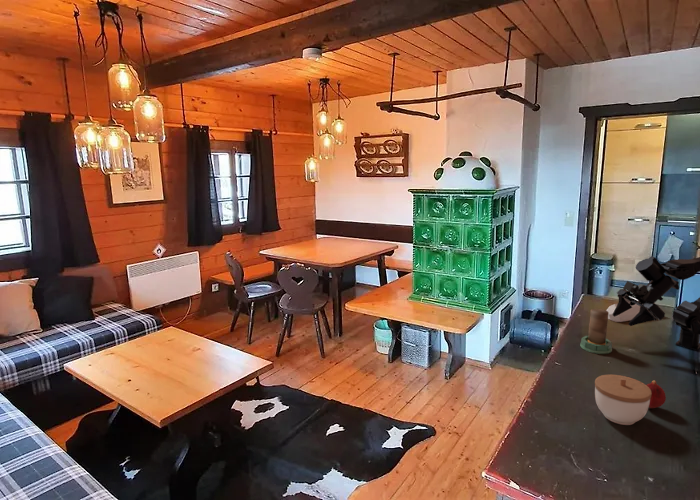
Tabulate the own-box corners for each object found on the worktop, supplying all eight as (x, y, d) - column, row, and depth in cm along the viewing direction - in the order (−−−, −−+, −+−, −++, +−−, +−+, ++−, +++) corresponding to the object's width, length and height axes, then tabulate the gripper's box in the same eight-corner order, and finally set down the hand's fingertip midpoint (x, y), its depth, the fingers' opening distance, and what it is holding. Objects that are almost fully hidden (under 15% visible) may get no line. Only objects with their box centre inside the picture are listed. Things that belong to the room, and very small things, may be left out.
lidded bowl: (583, 404, 123) (586, 368, 121) (629, 403, 123) (633, 367, 121) (608, 431, 111) (612, 391, 109) (659, 431, 111) (664, 391, 108)
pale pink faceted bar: (642, 301, 195) (598, 307, 188) (656, 297, 188) (611, 304, 182) (648, 318, 193) (604, 325, 186) (663, 315, 186) (617, 322, 180)
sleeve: (595, 341, 162) (599, 308, 159) (608, 347, 157) (612, 313, 154) (583, 344, 160) (586, 309, 157) (596, 350, 155) (599, 315, 152)
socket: (587, 340, 165) (588, 332, 165) (616, 348, 158) (617, 340, 157) (575, 347, 159) (575, 340, 159) (605, 356, 152) (605, 349, 151)
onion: (668, 414, 117) (671, 387, 116) (644, 413, 119) (647, 385, 117) (657, 403, 123) (661, 376, 121) (634, 401, 124) (638, 375, 123)
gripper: (624, 267, 162) (592, 297, 164) (659, 281, 144) (622, 314, 146) (643, 287, 164) (611, 316, 166) (681, 303, 145) (644, 336, 148)
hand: (621, 320), depth 156 cm, fingers open, 9 cm apart
